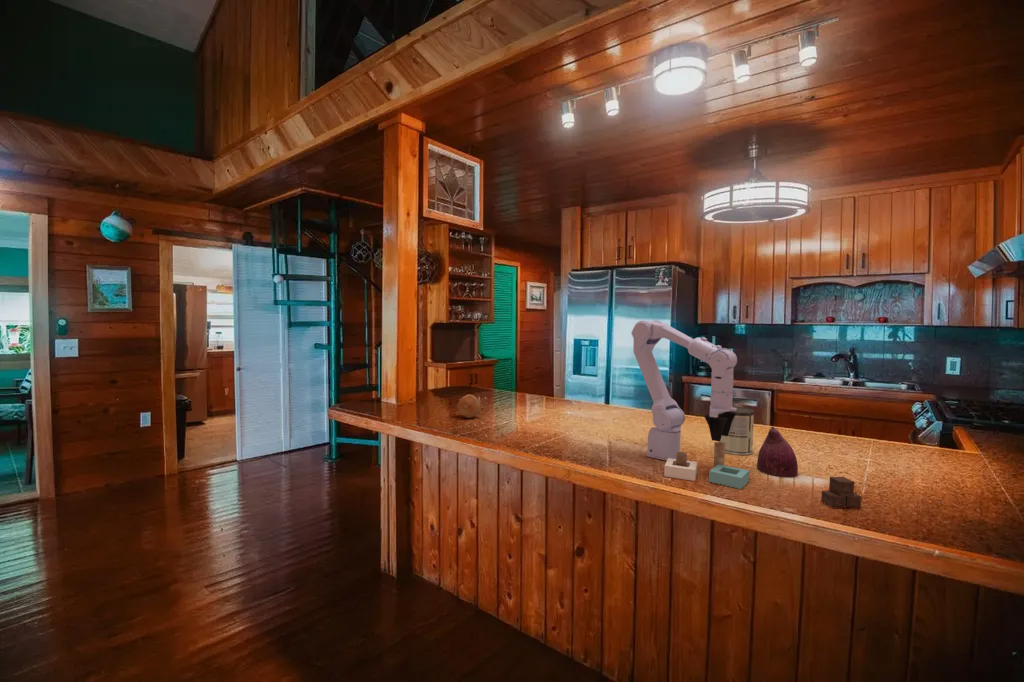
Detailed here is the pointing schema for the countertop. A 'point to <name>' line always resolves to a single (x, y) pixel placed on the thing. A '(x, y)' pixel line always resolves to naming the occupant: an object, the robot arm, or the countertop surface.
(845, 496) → the stack of crates
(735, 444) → the coffee can
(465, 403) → the onion
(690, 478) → the white peg holder
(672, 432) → the robot arm
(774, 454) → the vegetable
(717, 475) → the teal square frame block
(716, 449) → the maple dowel
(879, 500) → the countertop surface
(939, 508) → the countertop surface
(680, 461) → the walnut dowel
